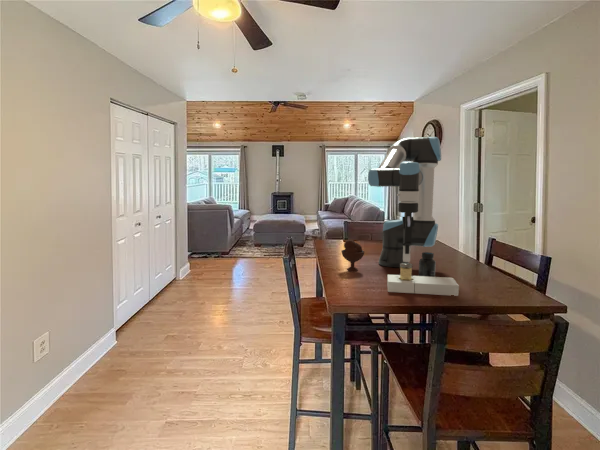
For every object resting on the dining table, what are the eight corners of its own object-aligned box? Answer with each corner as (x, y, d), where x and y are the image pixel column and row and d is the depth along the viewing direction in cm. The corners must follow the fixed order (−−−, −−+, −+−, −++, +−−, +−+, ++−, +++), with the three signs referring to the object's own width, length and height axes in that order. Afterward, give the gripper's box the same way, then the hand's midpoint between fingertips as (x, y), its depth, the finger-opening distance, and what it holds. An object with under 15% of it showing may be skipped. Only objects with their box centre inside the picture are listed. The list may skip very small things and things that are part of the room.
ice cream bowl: (354, 274, 176) (354, 242, 174) (336, 269, 184) (336, 239, 182) (368, 270, 183) (369, 239, 181) (350, 266, 191) (351, 237, 189)
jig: (387, 283, 159) (387, 274, 158) (452, 287, 153) (452, 277, 153) (387, 291, 147) (388, 281, 147) (458, 295, 142) (458, 285, 141)
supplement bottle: (436, 282, 161) (437, 254, 160) (419, 281, 162) (420, 254, 161) (433, 278, 168) (434, 251, 166) (417, 277, 169) (418, 251, 168)
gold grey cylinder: (398, 286, 154) (399, 262, 153) (411, 287, 153) (411, 263, 152) (399, 289, 150) (400, 265, 149) (412, 290, 149) (413, 265, 148)
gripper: (397, 201, 155) (396, 257, 158) (399, 203, 142) (397, 264, 145) (416, 201, 153) (414, 258, 156) (420, 203, 141) (417, 265, 143)
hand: (406, 261), depth 150 cm, fingers closed
